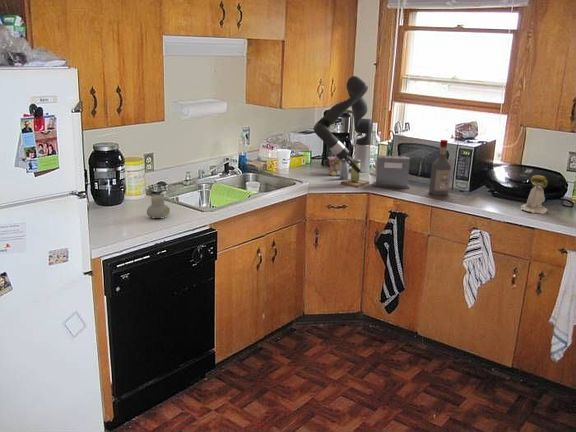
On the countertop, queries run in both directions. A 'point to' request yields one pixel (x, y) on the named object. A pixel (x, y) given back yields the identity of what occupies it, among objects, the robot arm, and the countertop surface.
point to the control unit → (392, 171)
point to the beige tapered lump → (536, 195)
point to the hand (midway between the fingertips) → (358, 170)
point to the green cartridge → (354, 174)
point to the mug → (334, 166)
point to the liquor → (440, 173)
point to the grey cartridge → (344, 170)
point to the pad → (355, 183)
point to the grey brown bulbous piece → (157, 207)
